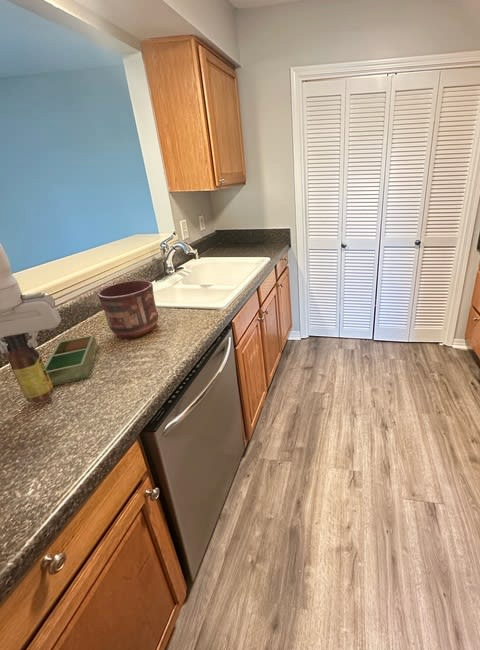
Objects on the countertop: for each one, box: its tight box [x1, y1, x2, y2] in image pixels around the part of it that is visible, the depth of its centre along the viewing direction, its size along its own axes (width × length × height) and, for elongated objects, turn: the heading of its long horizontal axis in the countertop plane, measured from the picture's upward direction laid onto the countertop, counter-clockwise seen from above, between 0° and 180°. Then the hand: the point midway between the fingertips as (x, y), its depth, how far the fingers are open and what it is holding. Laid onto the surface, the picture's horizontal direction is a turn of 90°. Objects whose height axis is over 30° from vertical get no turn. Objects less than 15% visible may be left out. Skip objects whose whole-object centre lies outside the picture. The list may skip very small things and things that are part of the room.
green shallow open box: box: [44, 334, 99, 387], centre depth 103 cm, size 11×20×5 cm, turn 23°
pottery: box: [97, 279, 160, 340], centre depth 120 cm, size 18×18×18 cm
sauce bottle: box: [3, 333, 54, 403], centre depth 83 cm, size 6×6×20 cm
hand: (20, 349), depth 81 cm, fingers closed on sauce bottle, 4 cm apart
